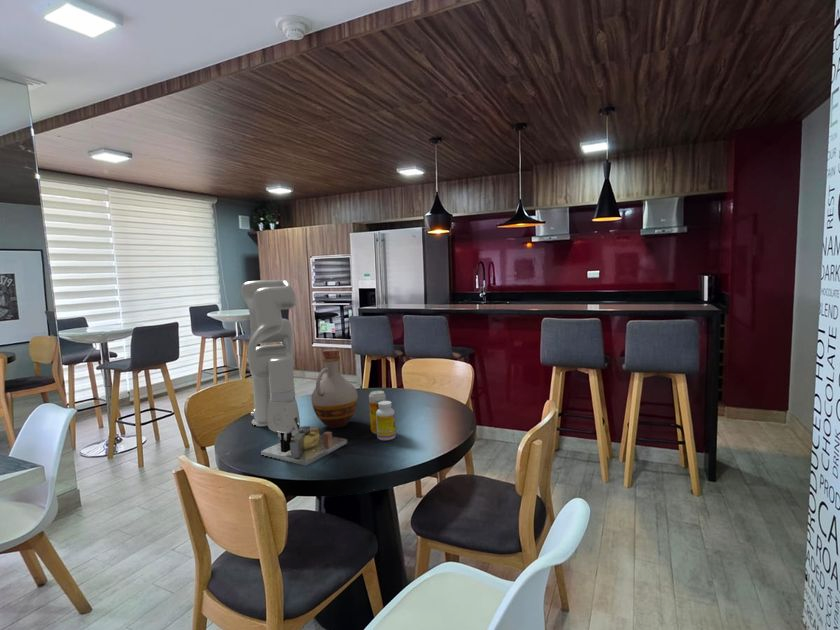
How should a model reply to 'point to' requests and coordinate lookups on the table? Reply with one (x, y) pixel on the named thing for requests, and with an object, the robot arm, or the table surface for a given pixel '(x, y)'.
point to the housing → (307, 450)
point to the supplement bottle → (385, 421)
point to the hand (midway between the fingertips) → (286, 450)
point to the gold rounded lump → (304, 440)
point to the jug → (333, 394)
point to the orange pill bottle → (375, 407)
